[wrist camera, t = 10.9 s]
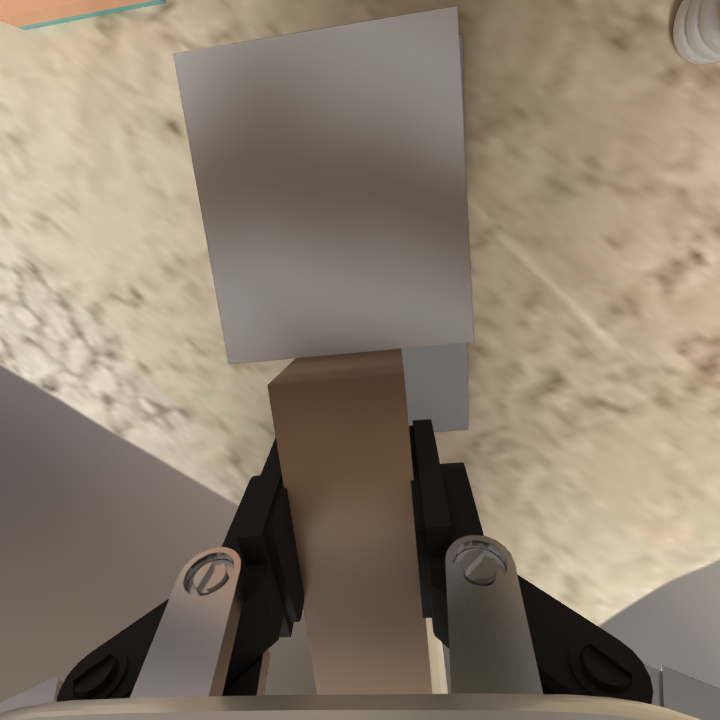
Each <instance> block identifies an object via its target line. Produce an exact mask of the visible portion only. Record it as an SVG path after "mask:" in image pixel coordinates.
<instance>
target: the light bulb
mask: <svg viewBox="0 0 720 720" xmlns="http://www.w3.org/2000/svg"><path fill="white" fill-rule="evenodd" d="M673 39H674V45H675V47H676V49H677V51H678V53H679V54H680V56H681V57H682V58H683V59H685V60H686V61H688V62H690V63H693V64H699V65H705V64H711V63H714V62H717V61H720V0H683V1H682V3H681V5H680V7H679V9H678V11H677V14H676V18H675V21H674V26H673Z"/></svg>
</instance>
